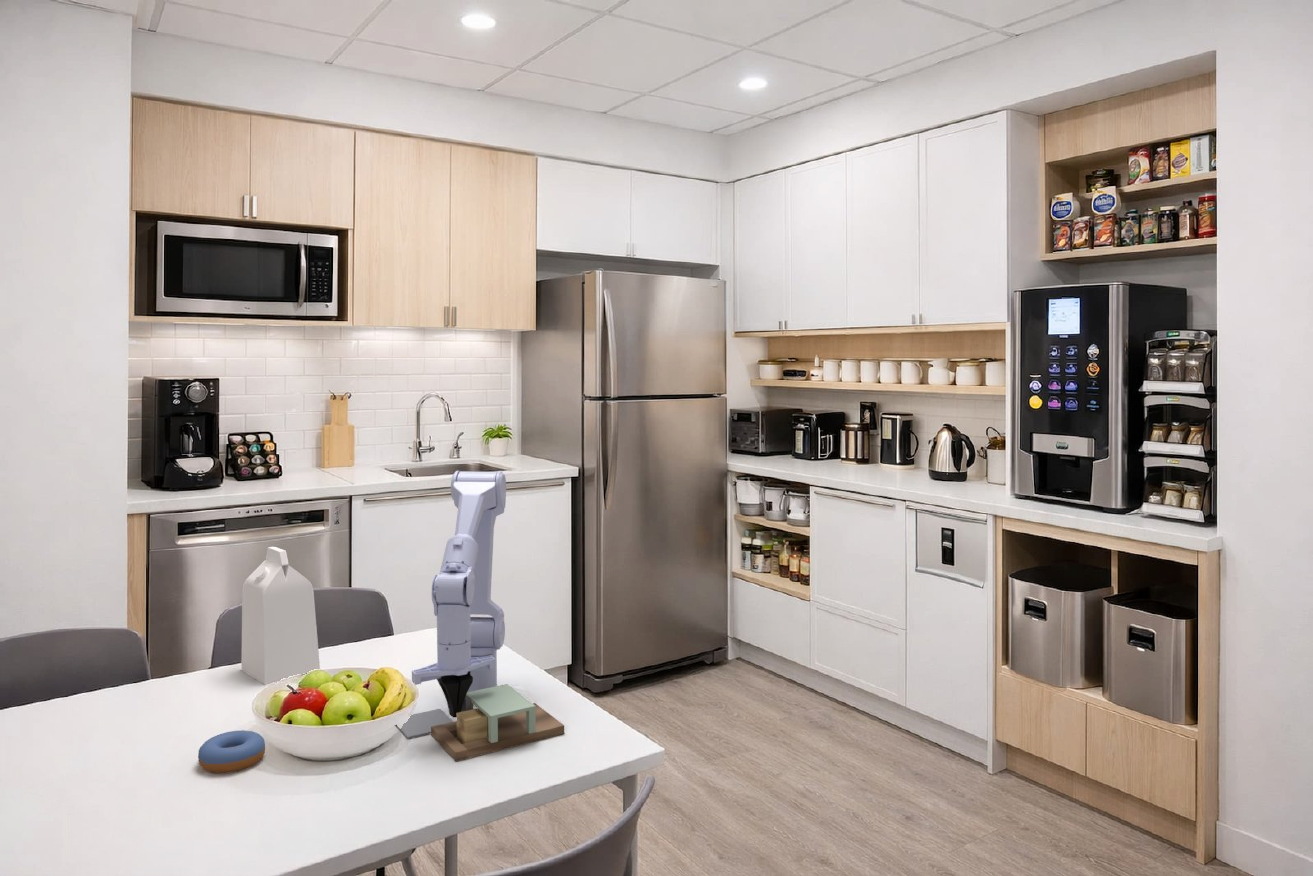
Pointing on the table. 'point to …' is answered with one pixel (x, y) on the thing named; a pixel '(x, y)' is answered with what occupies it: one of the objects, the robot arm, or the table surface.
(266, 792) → the table surface
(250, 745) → the doughnut
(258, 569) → the milk
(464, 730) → the block
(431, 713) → the mat
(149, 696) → the table surface
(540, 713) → the board
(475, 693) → the cover
